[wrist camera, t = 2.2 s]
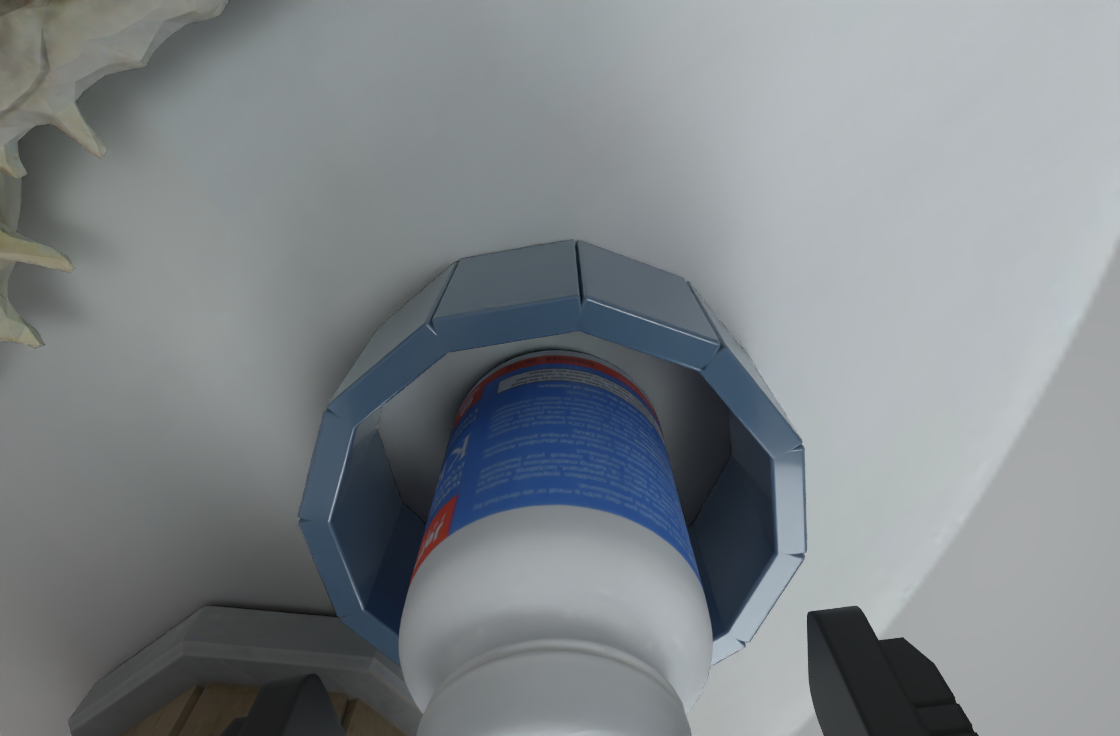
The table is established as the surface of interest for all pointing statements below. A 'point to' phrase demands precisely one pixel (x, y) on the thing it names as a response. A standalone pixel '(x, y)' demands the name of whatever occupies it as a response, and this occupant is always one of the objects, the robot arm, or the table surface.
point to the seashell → (65, 96)
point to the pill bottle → (555, 565)
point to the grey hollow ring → (532, 312)
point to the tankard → (245, 677)
